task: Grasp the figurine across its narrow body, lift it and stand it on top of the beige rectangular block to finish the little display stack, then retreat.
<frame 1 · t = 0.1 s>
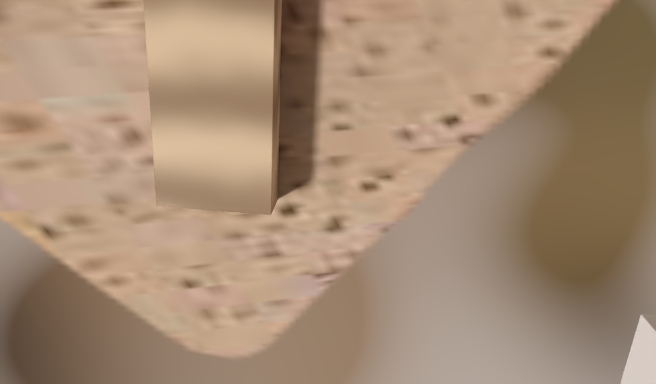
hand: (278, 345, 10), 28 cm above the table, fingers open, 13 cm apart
beige rectangular block: (222, 87, 37), on the table
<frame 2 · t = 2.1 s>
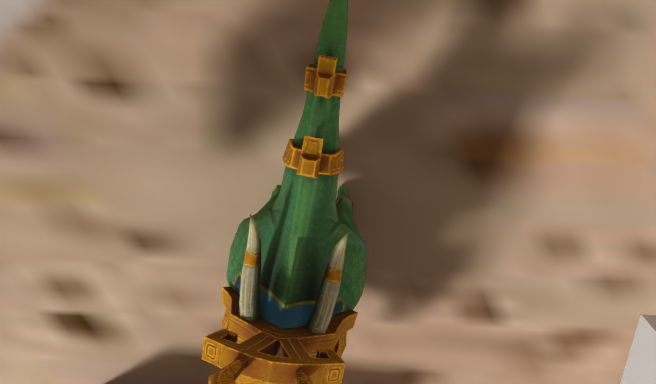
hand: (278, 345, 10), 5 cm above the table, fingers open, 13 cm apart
figurine: (312, 210, 15), on the table
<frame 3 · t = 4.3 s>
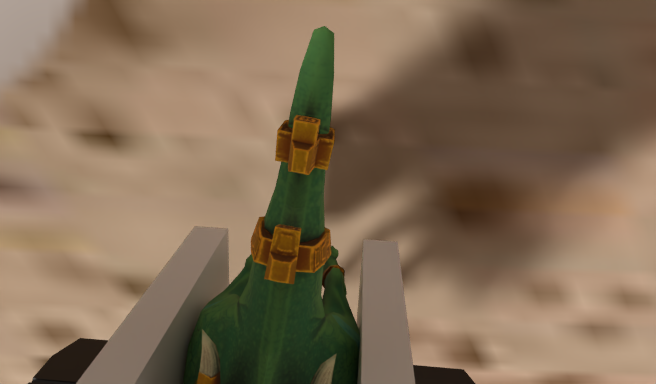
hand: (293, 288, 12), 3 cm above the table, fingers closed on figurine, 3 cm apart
figurine: (296, 274, 13), point 2 cm above the table, touching gripper
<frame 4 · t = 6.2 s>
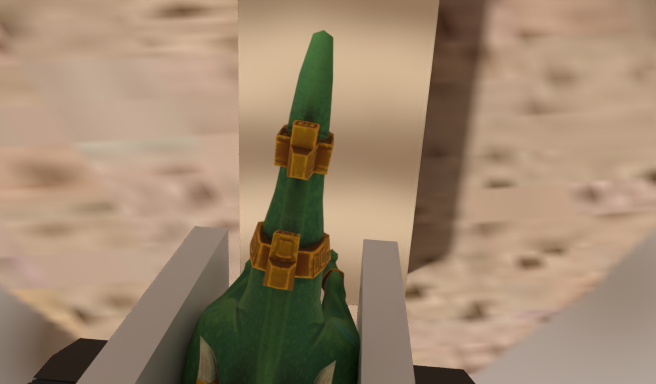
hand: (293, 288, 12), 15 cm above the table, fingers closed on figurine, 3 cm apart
beige rectangular block: (333, 128, 26), on the table
figurine: (295, 277, 13), point 14 cm above the table, touching gripper
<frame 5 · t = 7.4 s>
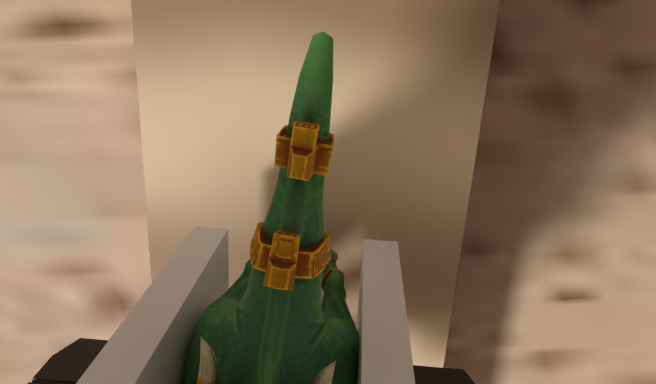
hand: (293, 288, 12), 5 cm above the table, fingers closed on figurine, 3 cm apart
beige rectangular block: (312, 210, 16), on the table
figurine: (296, 277, 13), point 4 cm above the table, touching gripper
when the fingers open (4 cm above the table, at t = 8.0 s): figurine stays where it is, resting on beige rectangular block.
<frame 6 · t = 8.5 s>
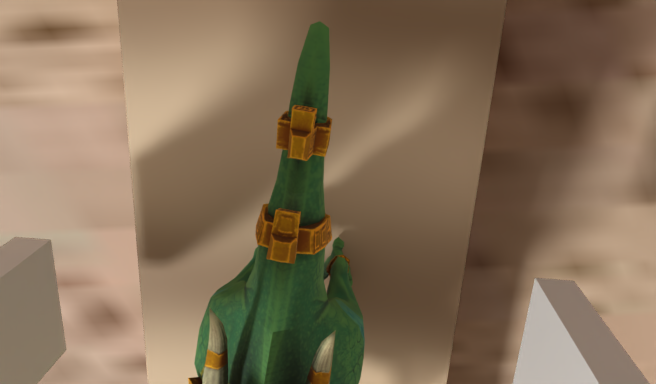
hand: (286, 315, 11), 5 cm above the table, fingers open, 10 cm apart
beige rectangular block: (310, 222, 16), on the table
figurine: (304, 265, 13), point 3 cm above the table, touching beige rectangular block
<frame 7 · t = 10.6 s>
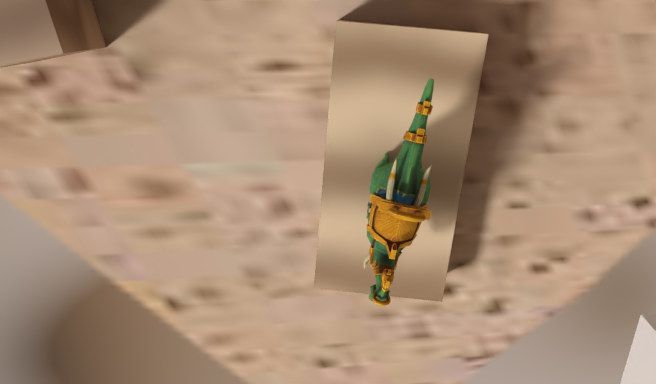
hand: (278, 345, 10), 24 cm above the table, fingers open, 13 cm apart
grey brown cube: (54, 12, 32), on the table
beige rectangular block: (390, 158, 33), on the table
figurine: (395, 171, 31), point 3 cm above the table, touching beige rectangular block
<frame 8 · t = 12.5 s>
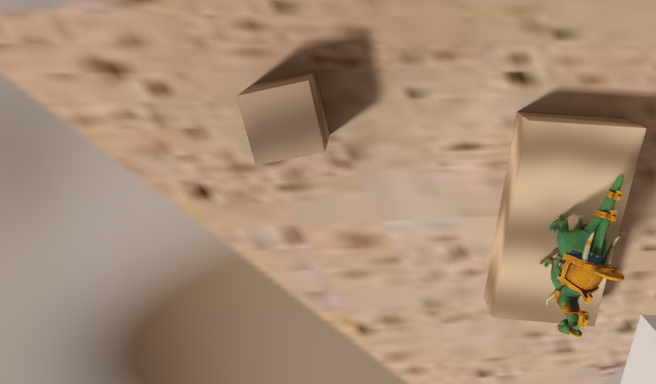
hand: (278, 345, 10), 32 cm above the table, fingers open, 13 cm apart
grey brown cube: (291, 110, 41), on the table
beige rectangular block: (550, 214, 42), on the table
figurine: (564, 228, 40), point 3 cm above the table, touching beige rectangular block
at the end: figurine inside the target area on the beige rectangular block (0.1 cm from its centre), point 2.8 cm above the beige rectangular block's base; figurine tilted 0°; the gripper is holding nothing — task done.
